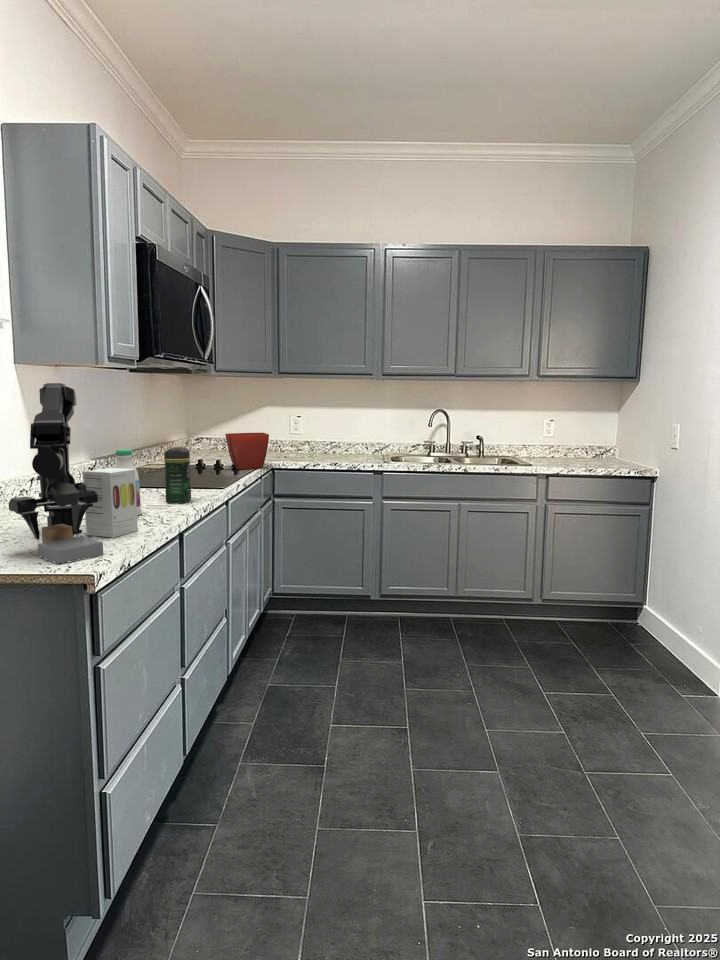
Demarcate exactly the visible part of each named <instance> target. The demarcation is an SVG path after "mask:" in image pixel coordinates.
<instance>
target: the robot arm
mask: <svg viewBox="0 0 720 960" xmlns="http://www.w3.org/2000/svg"><path fill="white" fill-rule="evenodd" d="M42 386H43V387H41V388H39V404H40V405H41V406H42V409H41V412H38V413H37V414H35V416H34V419H33V423H30V431H29V432H30V435H29V436H30V437H29V448H30V449H31V450H35V449H37V453H36V454H35V456H34V457H33V459H32V461H31V465H32V469H33V471H34V472H35V473H36V474H37V476H36V477H37V481H39V484H40V486H39V487H40V492H38V498H34V497H30V496H22V497H21V496H19V497H11V498H10V500H9V501H8V510H9V511H10V512H12V513H13V512H14V513H15V514H17V515H20V516H21V517H22V518H23V520H24V521H25V522H26V524H27V526H28V527H29V529H30V531H31V533H32V534H33V536H34V538H35V539H36V541H37V540H38V541H39V540H40V529H39V521H38V516H39V511H35V510H36V509H37V508H39V507H43V509H44V513H48V516H47V517H46V518H47V521H46V523H47V526H52V525H58V524H65V525H68V526H72V532H73V534H78V533H82V532H83V529H80V528H81V524H82V521H83V519H84V516H85V512H86V510H87V509H88V508H89V507H91V506H93V504H90V503H96V502H98V495H97V493H96V492H95V491H92V490H87V489H86V484H85V483H84V482H83V481H81V482H77V481H76V480H75V478H74V477H73V475H72V474H71V472H70V452H69V451H70V447H69V445H71V434H72V433H71V432H72V431H71V426H69V421H70V420H71V419H72V417H73V416H74V414H75V407H76V406H77V397H76V395H77V394H76V391H75V389H74V388H71V387H69V386H66V384H65V383H61V382H59V383H58V382H56V383H55V382H51V383H49V382H46V383H45V384H44V383H43V385H42ZM30 449H29V450H30Z"/></svg>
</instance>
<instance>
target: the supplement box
mask: <svg viewBox="0 0 720 960" xmlns="http://www.w3.org/2000/svg"><path fill="white" fill-rule="evenodd" d="M82 482H84V483H85V484H86V489H87V490H92V491H95V492H96V493H97V495H98V502H96V503H90V504H93V506H91V507H89V508H88V509H87V510H86V512H85V514H84V516H85V532H86V535H87V536H93V537H94V536H96V537H103V538H112V539H113V538H117V537H121V536H125V535H127V534H132V533H136V532H138V531H139V530H138V529H139V527H138V516H137V504H136V483H135V469H122V468H115V467H106V468H100V469H99V468H98V469H92V470H84V471H82Z"/></svg>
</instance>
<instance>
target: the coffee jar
mask: <svg viewBox="0 0 720 960" xmlns="http://www.w3.org/2000/svg"><path fill="white" fill-rule="evenodd" d="M163 455H164V456H163V459H164V474H165V476H164V478H165V479H164V480H165V481H164V482H165V502H166V503H170V504H173V503H178V504H180V503H181V504H182V502H184V503H183V504H186V503H188V502H190V501H191V500H192V487H191V484H192V483H191V457H190V455H191V454H190V450H189V449H188V448H186V447H182V446H175V447H171V448H169V449H167V450H165V451H164V452H163Z"/></svg>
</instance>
